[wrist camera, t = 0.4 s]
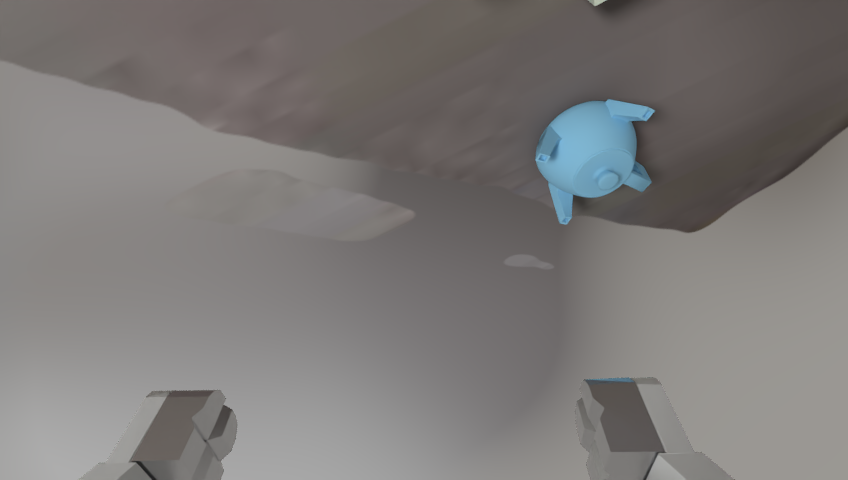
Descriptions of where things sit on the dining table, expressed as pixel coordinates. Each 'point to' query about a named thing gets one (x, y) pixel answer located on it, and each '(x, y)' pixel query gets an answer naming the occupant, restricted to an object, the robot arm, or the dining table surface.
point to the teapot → (591, 152)
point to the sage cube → (596, 2)
